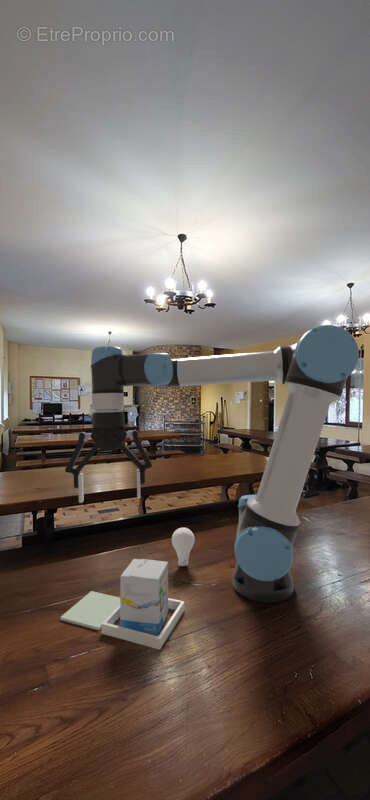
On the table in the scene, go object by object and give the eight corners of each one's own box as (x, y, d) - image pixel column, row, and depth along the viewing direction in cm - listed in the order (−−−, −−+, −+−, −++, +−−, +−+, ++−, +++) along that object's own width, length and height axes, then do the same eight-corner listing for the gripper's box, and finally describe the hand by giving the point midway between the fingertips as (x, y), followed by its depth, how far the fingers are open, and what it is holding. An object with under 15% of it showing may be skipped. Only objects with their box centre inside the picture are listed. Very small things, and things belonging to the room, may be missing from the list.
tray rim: (184, 610, 77) (184, 601, 77) (160, 649, 65) (159, 639, 65) (133, 598, 82) (133, 590, 82) (101, 633, 70) (101, 623, 70)
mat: (126, 601, 81) (126, 599, 81) (98, 630, 71) (98, 627, 71) (91, 593, 85) (91, 591, 85) (60, 619, 74) (60, 617, 74)
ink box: (158, 637, 69) (158, 579, 69) (119, 632, 70) (118, 575, 70) (169, 612, 77) (168, 560, 77) (133, 607, 79) (133, 557, 79)
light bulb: (168, 569, 96) (167, 530, 97) (177, 559, 103) (177, 523, 103) (189, 573, 94) (189, 533, 94) (198, 563, 100) (197, 525, 100)
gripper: (158, 409, 88) (160, 491, 88) (57, 412, 84) (59, 498, 84) (161, 410, 80) (163, 499, 80) (50, 413, 77) (52, 507, 76)
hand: (110, 499), depth 82 cm, fingers open, 13 cm apart
